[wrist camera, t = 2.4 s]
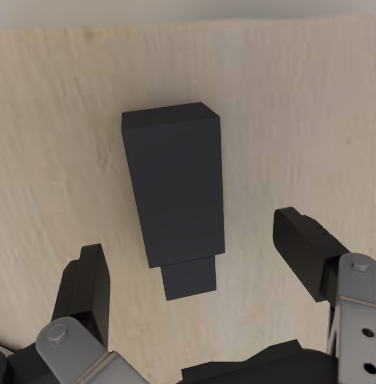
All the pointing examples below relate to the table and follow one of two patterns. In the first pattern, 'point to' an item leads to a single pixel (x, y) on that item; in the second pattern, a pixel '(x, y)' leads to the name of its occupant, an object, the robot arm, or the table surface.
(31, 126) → the table surface
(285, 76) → the table surface
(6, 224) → the table surface
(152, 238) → the pad
